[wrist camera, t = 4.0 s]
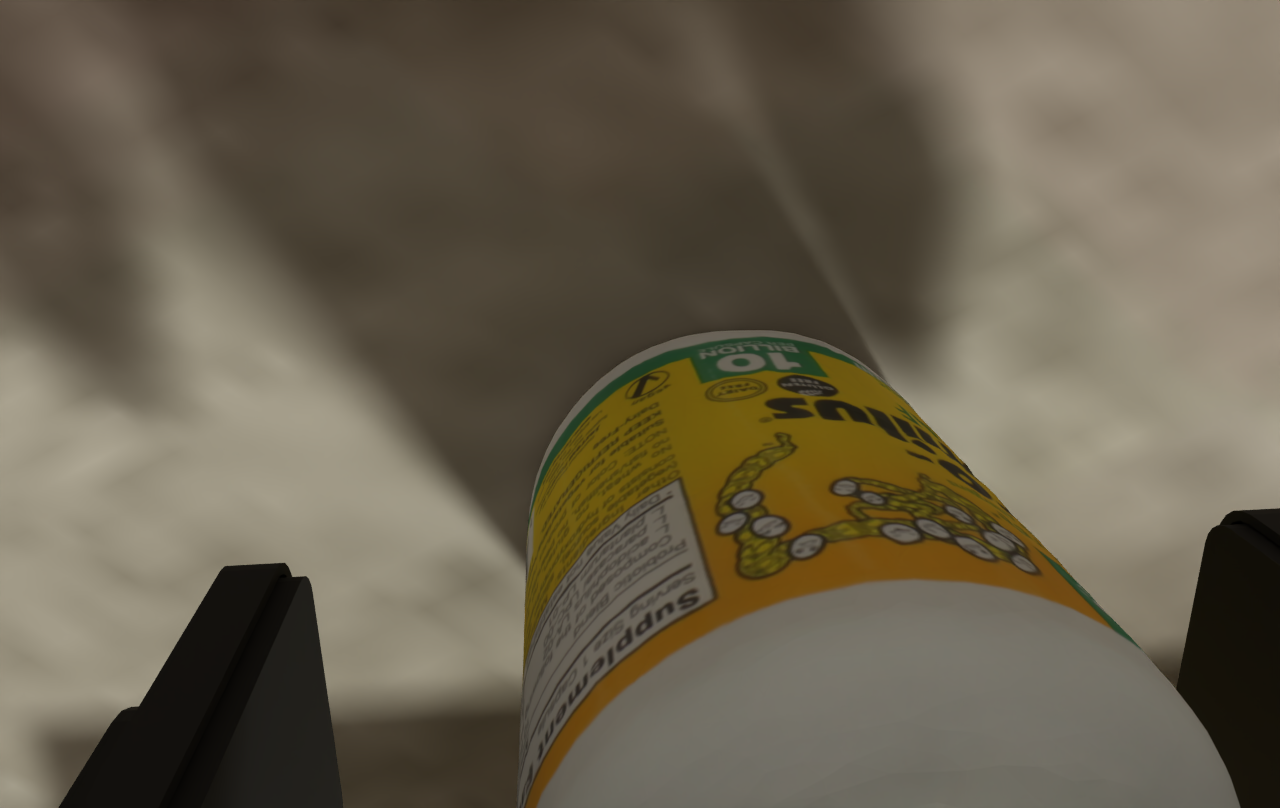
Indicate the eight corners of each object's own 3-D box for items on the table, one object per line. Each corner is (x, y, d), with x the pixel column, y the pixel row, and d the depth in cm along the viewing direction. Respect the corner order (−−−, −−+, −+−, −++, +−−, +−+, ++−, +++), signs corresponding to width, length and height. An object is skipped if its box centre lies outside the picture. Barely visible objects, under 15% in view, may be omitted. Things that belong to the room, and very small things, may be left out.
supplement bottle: (450, 549, 14) (247, 1548, 5) (700, 229, 12) (1072, 754, 3) (757, 737, 15) (1048, 1774, 6) (1008, 467, 14) (1833, 1272, 5)
